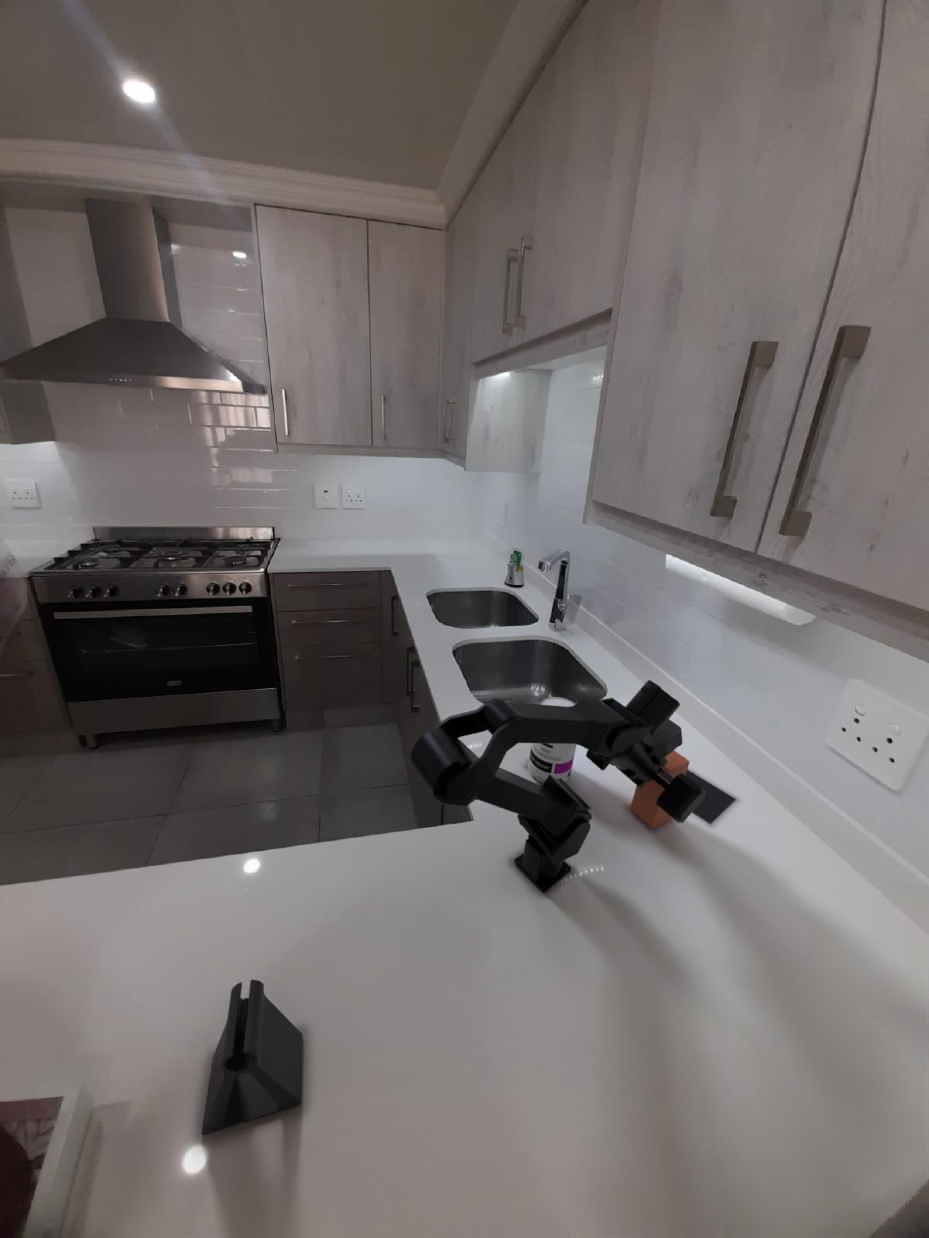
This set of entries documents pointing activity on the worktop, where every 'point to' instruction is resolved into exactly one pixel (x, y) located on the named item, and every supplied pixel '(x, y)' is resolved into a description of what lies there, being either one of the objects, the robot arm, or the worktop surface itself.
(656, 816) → the terracotta block
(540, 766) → the supplement can
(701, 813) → the mat
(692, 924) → the worktop surface
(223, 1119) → the phone stand
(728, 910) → the worktop surface
